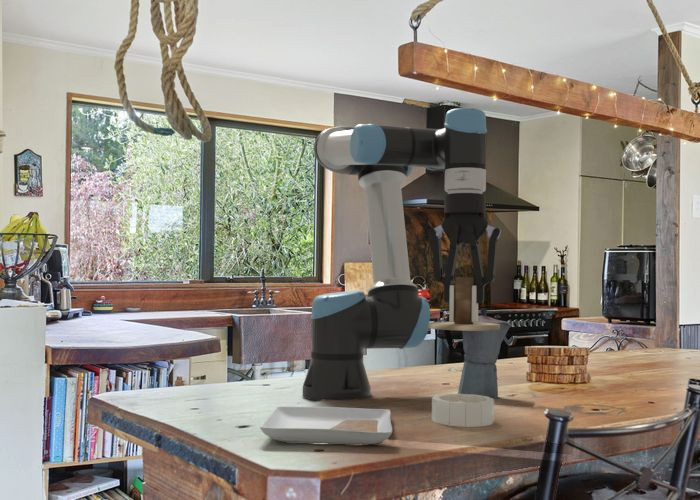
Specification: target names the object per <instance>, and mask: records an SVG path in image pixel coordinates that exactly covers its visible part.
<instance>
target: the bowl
mask: <svg viewBox="0 0 700 500" xmlns="http://www.w3.org/2000/svg"><path fill="white" fill-rule="evenodd" d="M458 401H467V402H458ZM431 421H432V422H434V423H436V424H440V425H443V426H444V425H445V426H450V427H452V426H453V427H462V428H463V427H464V428H467V427H468V428H472V427H473V428H475V427H486V426H490V425H491V426H492V424H494V422H495V399H494V398H490V397H487V396H481V395H474V394H458V393H442V394H435V395H434V396H433V397H431Z"/></svg>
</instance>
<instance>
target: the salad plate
mask: <svg viewBox="0 0 700 500" xmlns="http://www.w3.org/2000/svg"><path fill="white" fill-rule="evenodd" d="M391 413H392V412H391V410H390V409H387V408H386V409H385V408H384V409H381V408H363V407H362V408H361V407H359V408H357V407H339V406H338V407H336V406H276V407H275V408H274V409H273V410H272V412H271V413H270V414H269V416H267V418H266V419H265V421H263V423H262V424H261V425H260V427H259V429H260V430H261V432H262V433H263V434H265V436H266V437H269V438H270V439H273V440H275V441H280V442H282V443H284V442H288V443H287V444H292V443H328V444H362V445H361V446H367V445H366V444H372V445H377V444H381V443H383V442H384V441H387V440H388V439H389V438H390V436H392V433H393V424H392V422H391ZM345 421H377V424H376V426H377V429H376V430H377V431H365V430H363V431H362V430H361V431H360V430H352V429H351V430H349V429H348V430H347V429H334V427H335V426H337V425H340V424H341V423H343V422H345ZM332 428H333V429H332Z"/></svg>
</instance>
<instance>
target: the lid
mask: <svg viewBox="0 0 700 500" xmlns="http://www.w3.org/2000/svg"><path fill="white" fill-rule="evenodd" d="M474 278H475V276H474V277H465V276H462V277H461V276H458V277H455V276H454V285H455V309H454V322H446V321H432V322H431V321H430V323H428V329H431V330H439V331H440V330H443V331H444V330H450V331H491V330H499V329H500V324H495V323H483V322H472V286H474V282H475V281H474V280H475V279H474Z"/></svg>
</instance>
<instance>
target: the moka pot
mask: <svg viewBox="0 0 700 500" xmlns="http://www.w3.org/2000/svg"><path fill="white" fill-rule="evenodd" d="M487 313H488V309H487V308H480V315H478V321H477V322H483V323H495V324H500V329H499V330H491V331H462V344H463V345H462V346H463V347H462V348H463V351H464V354H463V357H464V361H463V366H462V371H461V376H460V380H459V386H458V392H457V394H474V395H481V396H487V397H490V398H493V399H494V400H495V399H497V398H499V388H498V387H499V386H498V372H497V371H498V369H497V364H496V363H497V359H498V356H499V354H500V350H501V344H502V343H503V341H504V340H505V339H504V338H505V337H506V335H507V332H508V331H509V329H510V328H511V327H513V325H512V324H511V323H509V322H508V321H505V320H500V319H496V318H493V317H490V316H487ZM445 322H454V321H449V319H446V321H445ZM443 331H444V332H443V333H444V335H445V339H446V343H447V346H448V350H449V353H450V356H452V357H454V358H455V357H456V358H460V357H461V356H462V353H461V352H456V351H455V347H454V345H453V339H452V335H451V330H443Z"/></svg>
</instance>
